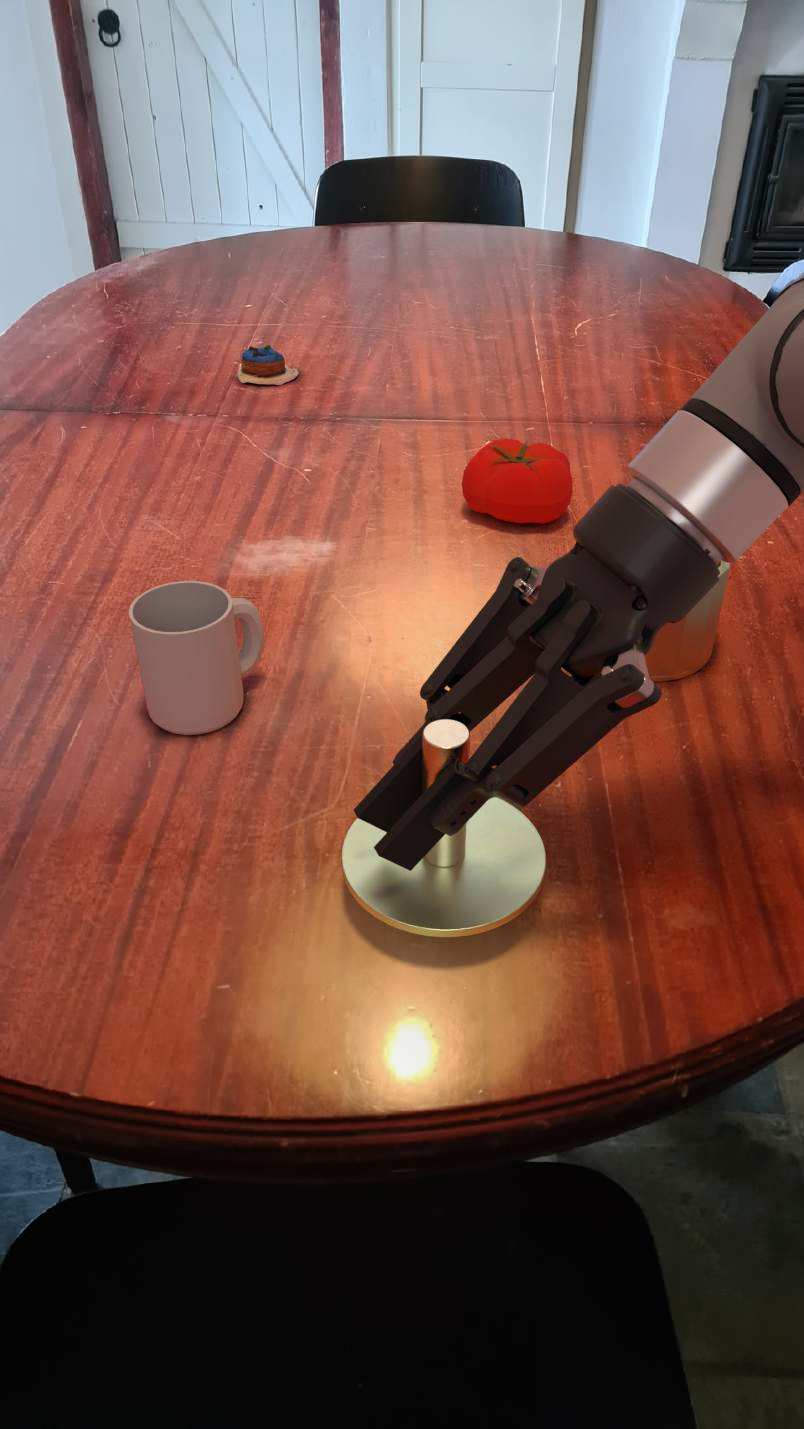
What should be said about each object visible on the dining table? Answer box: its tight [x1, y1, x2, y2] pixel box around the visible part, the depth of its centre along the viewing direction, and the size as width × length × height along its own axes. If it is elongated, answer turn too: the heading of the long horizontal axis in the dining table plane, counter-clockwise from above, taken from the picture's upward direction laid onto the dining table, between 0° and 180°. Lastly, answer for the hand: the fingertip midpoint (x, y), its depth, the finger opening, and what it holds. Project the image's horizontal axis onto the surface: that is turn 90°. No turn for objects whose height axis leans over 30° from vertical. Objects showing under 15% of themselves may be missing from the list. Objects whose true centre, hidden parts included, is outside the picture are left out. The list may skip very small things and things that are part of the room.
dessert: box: [237, 344, 300, 386], centre depth 135 cm, size 8×7×6 cm
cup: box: [128, 580, 265, 736], centre depth 76 cm, size 7×10×9 cm
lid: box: [340, 719, 547, 938], centre depth 59 cm, size 12×12×10 cm
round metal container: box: [645, 560, 731, 683], centre depth 82 cm, size 11×11×8 cm
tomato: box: [461, 437, 574, 525], centre depth 102 cm, size 10×11×6 cm
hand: (382, 839), depth 59 cm, fingers closed on lid, 3 cm apart
